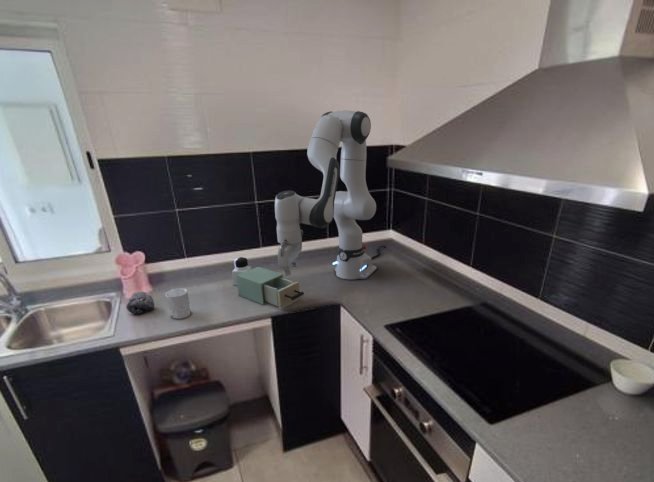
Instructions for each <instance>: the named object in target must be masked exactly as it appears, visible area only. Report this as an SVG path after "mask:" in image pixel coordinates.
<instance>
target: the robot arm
mask: <svg viewBox="0 0 654 482" xmlns="http://www.w3.org/2000/svg"><path fill="white" fill-rule="evenodd" d="M371 123H372V122H371V118H370V117H369V115H368V114H367V113H366V112H364V111H360V110H357V111H354V110H338V111H337V110H336V111H327V112H325V113H323V114H322V115H321V116H320V118H319V120H318V121H317V123H316V125H315V127H314V129H313V132H312V134H311V136H310V139H309V142H308V146H307V150H306V151H307V152H306V156H307V159H308V161H309V163H310V164H311V165H312V166H313V167H314V168H315V169H317V170H318V171H319V172H321V173H322V175H323V179H322V186H321V189H320V190H321V191H320V196H319V197H318V198H317V199H316V198H311V197H310V198H309V197H305V196H301V195H299V194H297V193H296V191H294V190H283V191H280V192H278V193H277V194H276V195H275V199H274V214H275V215H274V218H275V220H276V238H277V243H278V244H280V246H279V247H278V248H277V266H278V269H283V271H284V275H285V276H286V277H290V276H291V275H292V272H291V270H290V269H291V267H290V266H292V267H293V268H297V266H298V261H299V260H298V259H299V256H300V254H301V253H302V249H303V235H304V231H303V229H301V225H300V224H302V225H303V224H304V225H309V226H312V227H315V228H319V229H325V228H326V227H328V226H329V225H330V224H332V221H333V219H334V221H335V224H336V228H337V233H338V247H337V254H338V255H337V256H336V261H334V262H332V265H336V267H335V268H334V272H335V275H336V277H338V278H340V279H342V280H350V281H351V280H352V281H353V280H366V279H368V278H369V277H370V276H371V275H372V274H373V273H374V272H375V271H376V270H377V269H378V268H377V266H376V265H375V264H373V259H375V258H377V257H379V256H380V255H381V252H380V251H379V250H380V249H381V248H384V249H386V245H380V246H379V247H378V248H379V249H378V248H377V249H376V252H377V254H376V255H374V256H372V257H371V256H370V255H368V254H367V253H366V252H365V250H367V249H368V245H366V244H363V230H362V228H361V227H360V225H359V224H358V223H357V221H369V220H371V219H372V218H373V217H374V216H375V214H376V212H377V203H376V201H375V199H374V198H373V196H372V195H371V193H370V191H369V189H368V185H367V181H366V169H367V139H368V137H369V136H370V133H371V129H372V124H371ZM340 143H342V145H341V144H340ZM340 145H341V151H340V163H339V161H338V160H337V154H338V150H339V147H340ZM339 178H340V180H341V181H342V182H343V183H344V184H345V187H346V191H343V190H339V191H337V189H338V188H337V187H338V182H339ZM356 220H357V221H356ZM383 246H384V247H383ZM380 247H381V248H380Z"/></svg>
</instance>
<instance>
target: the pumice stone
mask: <svg viewBox="0 0 654 482" xmlns="http://www.w3.org/2000/svg"><path fill="white" fill-rule="evenodd" d="M155 305H156V304H155V301H154V298H153V297H152V296H151V295H150V294H149V293H146V292H145V291H136V292H133V293H132V294H131V296H130V298H129V300H128V302H127V303H126V306H125V307H126V310H127V311H128V312H129V313H131V314H133V315H142V314H144V313H146V312H149V311H152V310H154V309H155Z"/></svg>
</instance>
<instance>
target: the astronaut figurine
mask: <svg viewBox="0 0 654 482" xmlns="http://www.w3.org/2000/svg"><path fill="white" fill-rule="evenodd" d="M233 264H234V268H233V270H232V271H231V274H232V281H233V286H238V283H237V277H236V275H238V274H240V273H243V272H246V271H248V270H251V269H253V268H252V266H251V265H249V263H248V258H246V257H243V256H239V257H236V258H234V259H233Z"/></svg>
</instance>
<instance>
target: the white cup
mask: <svg viewBox="0 0 654 482" xmlns="http://www.w3.org/2000/svg"><path fill="white" fill-rule="evenodd" d="M165 297H166V301H167V304H168V307H169V310H170V312H171V315H172V318H174V319H176V320H179V319H180V320H181V319H185V318H187V317H189V316H191V308H190V307H191V306H190V300H189V299H190V298H189V294H188V290H187V289H186V288H183V287H179V288H178V287H177V288H172V289H170V290H168V291H166V292H165Z"/></svg>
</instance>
